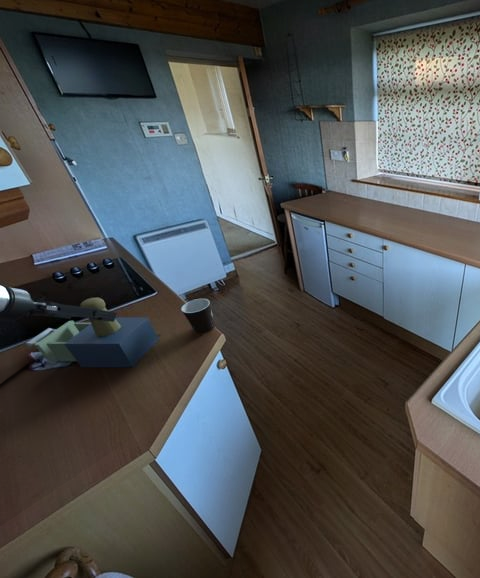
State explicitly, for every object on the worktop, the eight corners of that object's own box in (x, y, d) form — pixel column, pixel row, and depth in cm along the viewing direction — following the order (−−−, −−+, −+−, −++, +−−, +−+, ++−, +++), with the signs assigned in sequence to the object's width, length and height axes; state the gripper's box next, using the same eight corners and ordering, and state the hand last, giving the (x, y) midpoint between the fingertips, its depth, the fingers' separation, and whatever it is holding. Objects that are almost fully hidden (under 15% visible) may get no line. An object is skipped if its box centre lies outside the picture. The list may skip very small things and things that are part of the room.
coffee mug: (213, 334, 103) (204, 311, 98) (187, 336, 102) (176, 313, 97) (223, 315, 113) (215, 293, 108) (199, 316, 112) (190, 295, 106)
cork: (92, 331, 89) (72, 301, 83) (116, 321, 93) (99, 292, 88) (99, 339, 86) (79, 308, 81) (123, 328, 91) (106, 299, 85)
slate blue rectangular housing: (81, 367, 89) (63, 343, 84) (113, 339, 100) (99, 317, 95) (133, 367, 90) (118, 343, 85) (159, 339, 101) (147, 317, 95)
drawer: (30, 363, 89) (14, 344, 85) (64, 338, 99) (51, 320, 95) (98, 363, 90) (85, 344, 86) (125, 338, 99) (114, 320, 95)
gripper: (-63, 315, 65) (49, 325, 85) (40, 322, 63) (129, 331, 84) (-49, 282, 66) (57, 300, 87) (52, 289, 65) (136, 305, 85)
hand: (92, 315), depth 85 cm, fingers open, 13 cm apart
